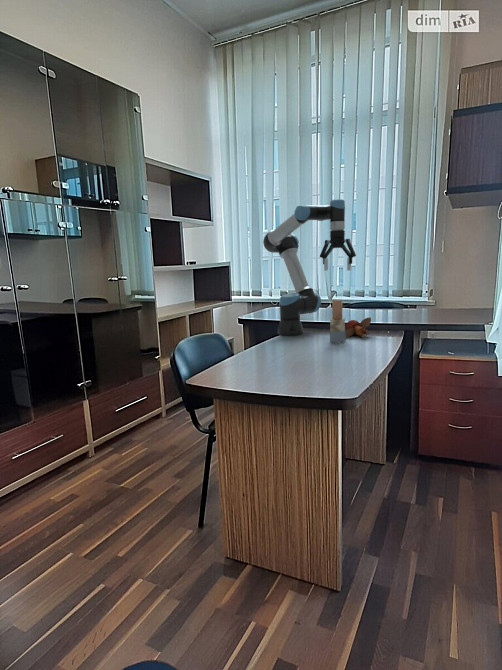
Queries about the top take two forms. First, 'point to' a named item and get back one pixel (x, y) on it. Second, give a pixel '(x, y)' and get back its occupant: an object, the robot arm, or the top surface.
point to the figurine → (357, 327)
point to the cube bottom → (337, 336)
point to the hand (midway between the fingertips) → (337, 270)
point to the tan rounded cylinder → (337, 309)
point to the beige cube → (337, 325)
